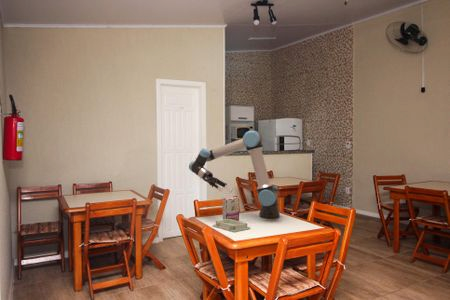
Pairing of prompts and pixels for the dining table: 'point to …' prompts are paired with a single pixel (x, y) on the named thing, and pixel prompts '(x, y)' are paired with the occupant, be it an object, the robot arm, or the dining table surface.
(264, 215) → the robot arm
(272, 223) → the dining table surface
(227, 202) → the candy bar box
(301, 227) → the dining table surface
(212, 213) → the dining table surface
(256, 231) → the dining table surface
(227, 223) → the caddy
